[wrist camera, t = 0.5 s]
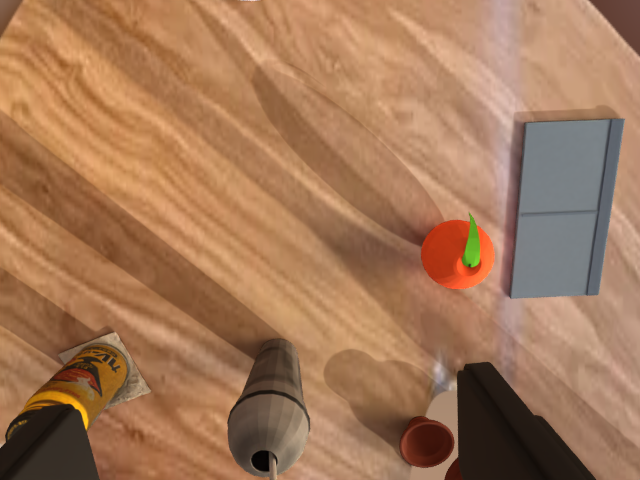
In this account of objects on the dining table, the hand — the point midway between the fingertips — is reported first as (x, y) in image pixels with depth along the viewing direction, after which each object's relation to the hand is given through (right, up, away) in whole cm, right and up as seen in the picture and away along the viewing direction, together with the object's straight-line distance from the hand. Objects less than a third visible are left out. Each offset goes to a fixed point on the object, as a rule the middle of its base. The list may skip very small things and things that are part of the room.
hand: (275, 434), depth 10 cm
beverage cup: (-4, -9, +37) cm, 38 cm away
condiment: (-24, -10, +36) cm, 45 cm away
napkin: (+27, +8, +33) cm, 43 cm away
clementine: (+15, +5, +34) cm, 37 cm away
